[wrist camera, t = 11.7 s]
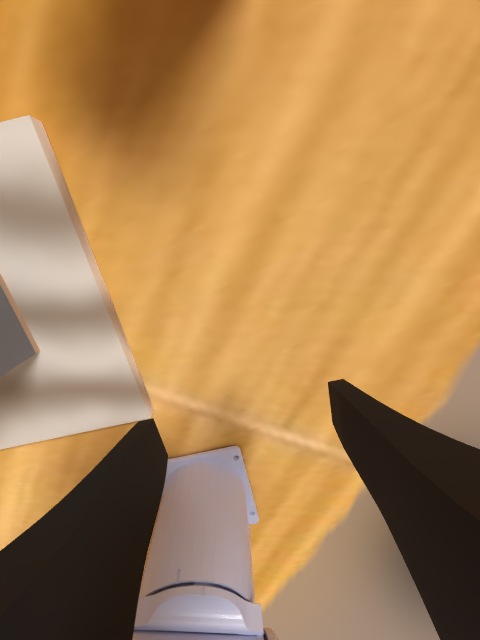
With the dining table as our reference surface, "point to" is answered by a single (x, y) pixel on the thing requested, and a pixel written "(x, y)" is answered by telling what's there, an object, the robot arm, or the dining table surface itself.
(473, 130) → the dining table surface
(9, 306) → the block
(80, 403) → the board
